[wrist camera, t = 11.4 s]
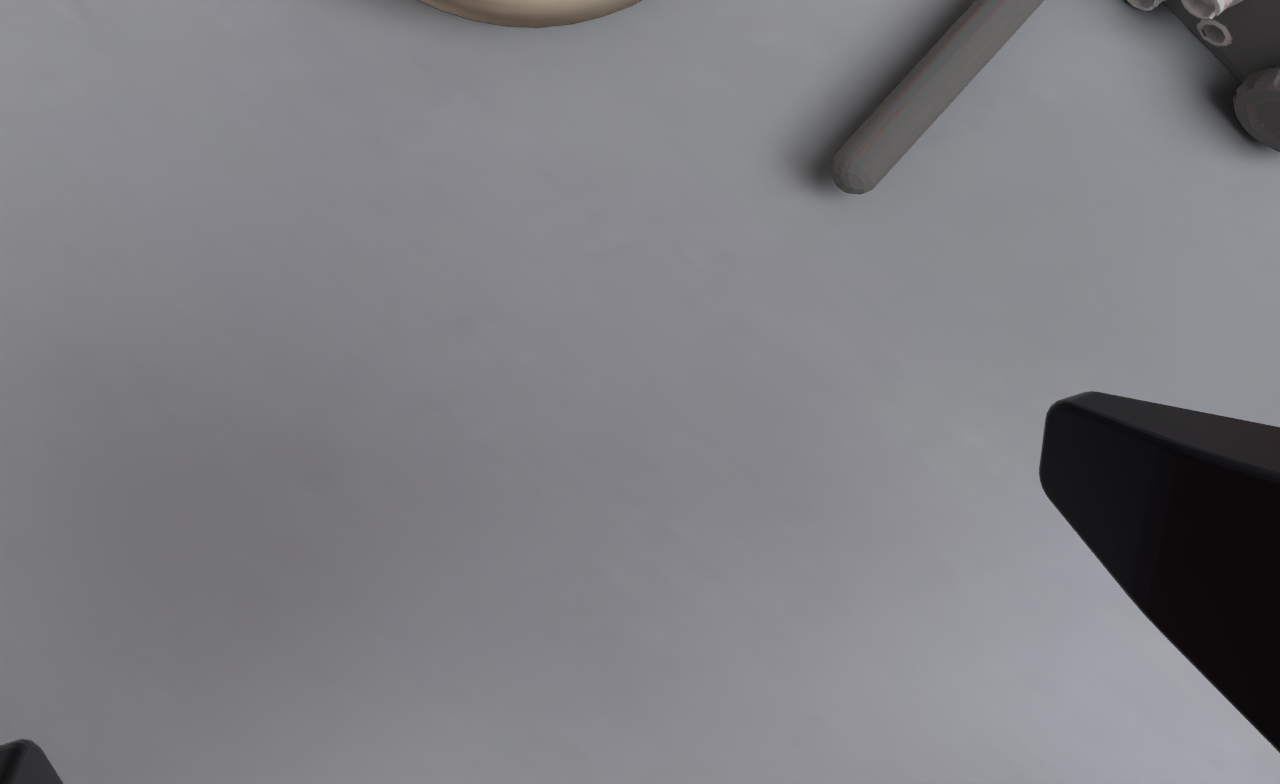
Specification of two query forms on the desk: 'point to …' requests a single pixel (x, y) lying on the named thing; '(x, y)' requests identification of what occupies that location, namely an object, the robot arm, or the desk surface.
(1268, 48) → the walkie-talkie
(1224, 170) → the desk surface
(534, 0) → the stand
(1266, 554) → the robot arm
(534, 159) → the desk surface
